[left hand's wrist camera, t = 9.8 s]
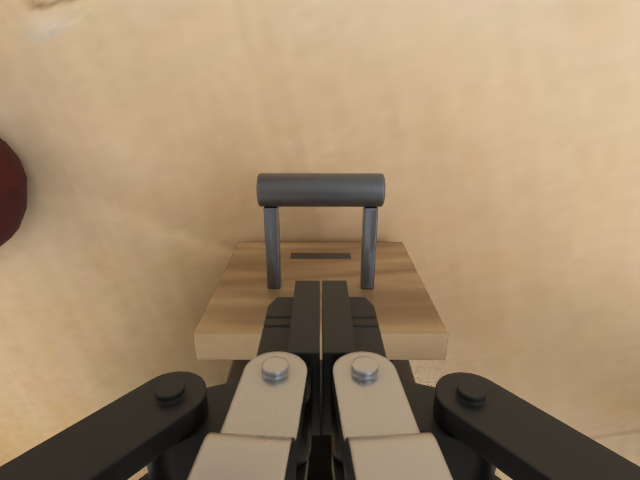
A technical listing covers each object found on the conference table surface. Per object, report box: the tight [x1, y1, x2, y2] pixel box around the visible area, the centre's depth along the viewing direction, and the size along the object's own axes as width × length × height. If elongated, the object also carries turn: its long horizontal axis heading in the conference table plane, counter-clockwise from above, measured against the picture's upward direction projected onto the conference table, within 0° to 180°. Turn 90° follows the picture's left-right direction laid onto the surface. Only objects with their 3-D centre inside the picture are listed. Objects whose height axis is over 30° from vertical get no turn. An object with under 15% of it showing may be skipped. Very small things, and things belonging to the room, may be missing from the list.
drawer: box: [193, 173, 449, 480], centre depth 23 cm, size 26×10×10 cm, turn 0°
